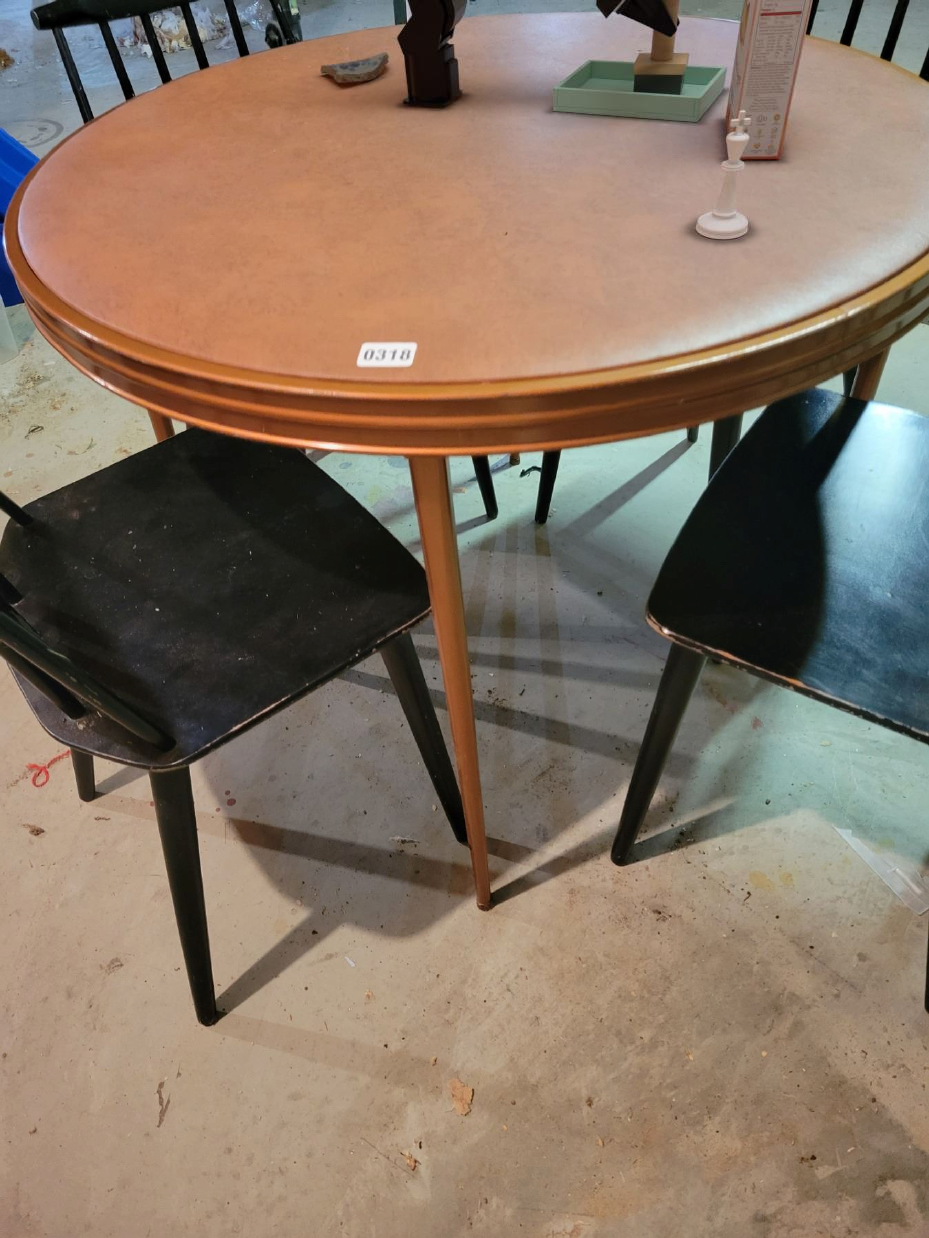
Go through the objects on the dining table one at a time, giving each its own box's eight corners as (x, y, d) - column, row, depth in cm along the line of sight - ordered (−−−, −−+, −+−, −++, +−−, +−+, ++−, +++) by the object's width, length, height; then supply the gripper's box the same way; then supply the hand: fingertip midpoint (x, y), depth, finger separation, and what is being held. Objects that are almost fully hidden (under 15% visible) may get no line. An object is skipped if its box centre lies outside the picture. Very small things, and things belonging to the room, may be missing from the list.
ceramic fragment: (330, 77, 113) (316, 50, 119) (334, 101, 116) (319, 73, 121) (400, 65, 115) (383, 39, 120) (402, 88, 118) (385, 62, 123)
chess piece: (689, 221, 77) (706, 105, 70) (738, 216, 77) (760, 100, 70) (703, 242, 74) (723, 123, 66) (754, 236, 74) (780, 117, 66)
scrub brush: (630, 97, 100) (638, 0, 93) (636, 86, 103) (644, -10, 96) (681, 98, 99) (693, -1, 91) (685, 86, 102) (697, -11, 94)
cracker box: (721, 120, 96) (758, -110, 80) (772, 119, 95) (820, -114, 79) (724, 161, 87) (766, -89, 71) (780, 161, 86) (835, -93, 70)
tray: (552, 111, 102) (553, 88, 100) (587, 81, 110) (588, 59, 108) (696, 122, 96) (700, 98, 94) (723, 90, 103) (727, 67, 101)
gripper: (634, -147, 79) (726, -12, 84) (657, -166, 90) (736, -46, 96) (557, -44, 86) (645, 73, 92) (587, -74, 98) (664, 32, 104)
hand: (675, 30), depth 96 cm, fingers closed on scrub brush, 3 cm apart
